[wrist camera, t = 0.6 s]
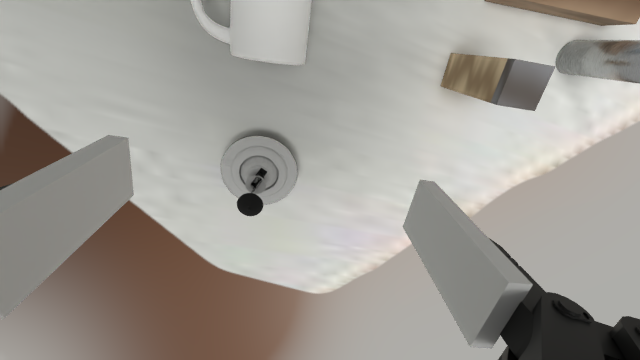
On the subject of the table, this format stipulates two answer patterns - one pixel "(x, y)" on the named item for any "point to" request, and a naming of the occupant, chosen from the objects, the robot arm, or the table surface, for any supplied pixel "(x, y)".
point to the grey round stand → (258, 172)
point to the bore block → (583, 9)
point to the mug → (263, 29)
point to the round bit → (601, 59)
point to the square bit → (497, 79)
